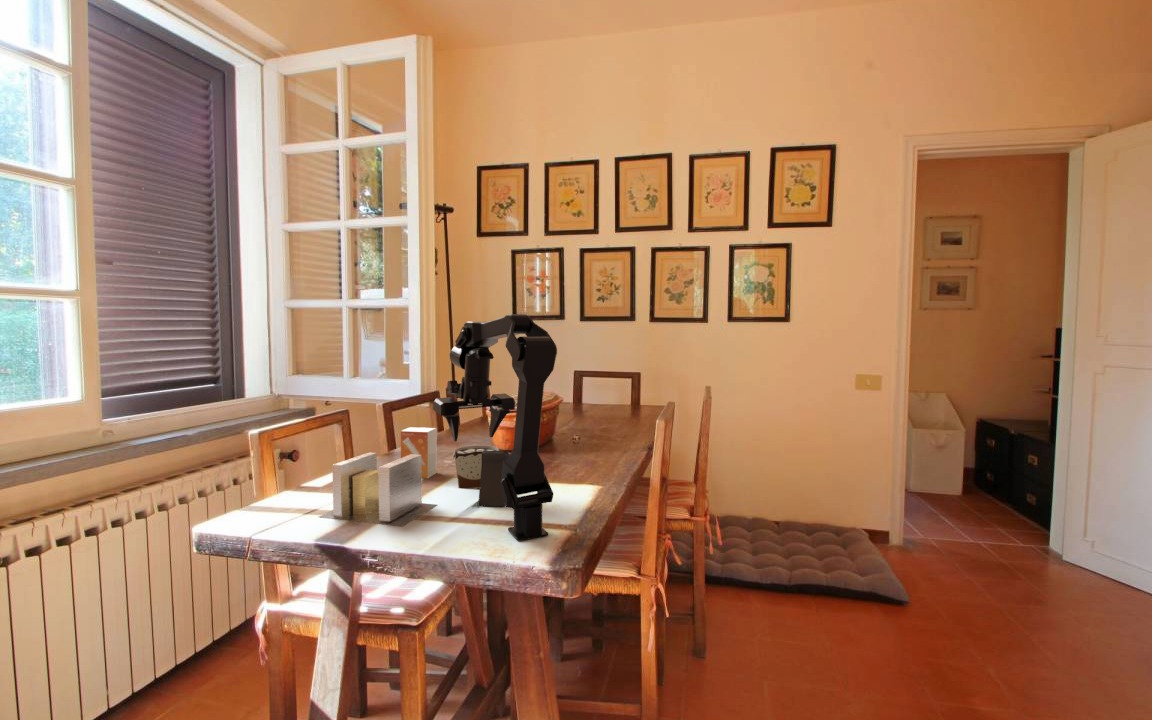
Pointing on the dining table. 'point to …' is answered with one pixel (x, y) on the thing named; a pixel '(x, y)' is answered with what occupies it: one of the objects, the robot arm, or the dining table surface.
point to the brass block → (365, 492)
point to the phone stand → (491, 479)
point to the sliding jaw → (399, 487)
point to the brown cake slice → (470, 465)
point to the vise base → (376, 516)
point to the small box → (421, 447)
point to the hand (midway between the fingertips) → (473, 438)
